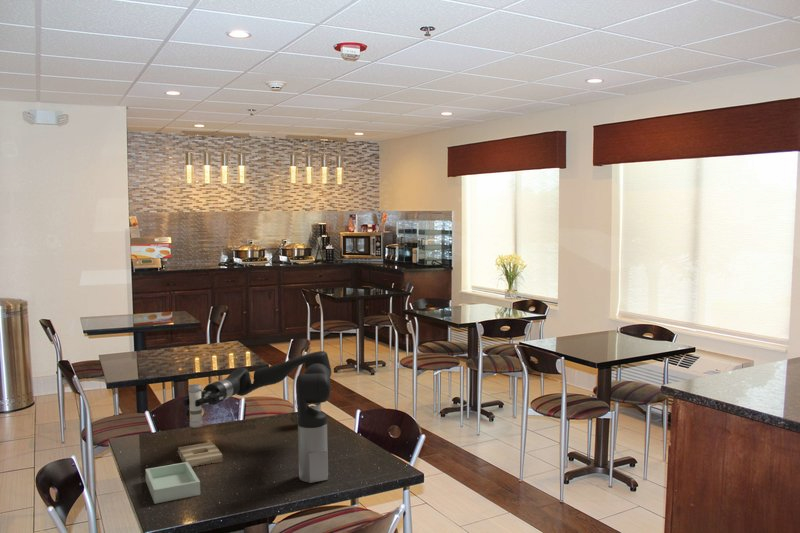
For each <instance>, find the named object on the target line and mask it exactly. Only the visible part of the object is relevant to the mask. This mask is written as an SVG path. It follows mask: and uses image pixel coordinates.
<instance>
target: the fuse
mask: <svg viewBox="0 0 800 533" xmlns="http://www.w3.org/2000/svg"><path fill="white" fill-rule="evenodd" d="M201 391H202V384H200V383H193V384H189V385H188V394H189V405H188V406H189V427H190V428H200V427H202V426H203V425H204V424H203V408H202V406H203V405H201V406H198V407H196V406H195V401H196V400H198V399H200V398H201Z"/></svg>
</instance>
